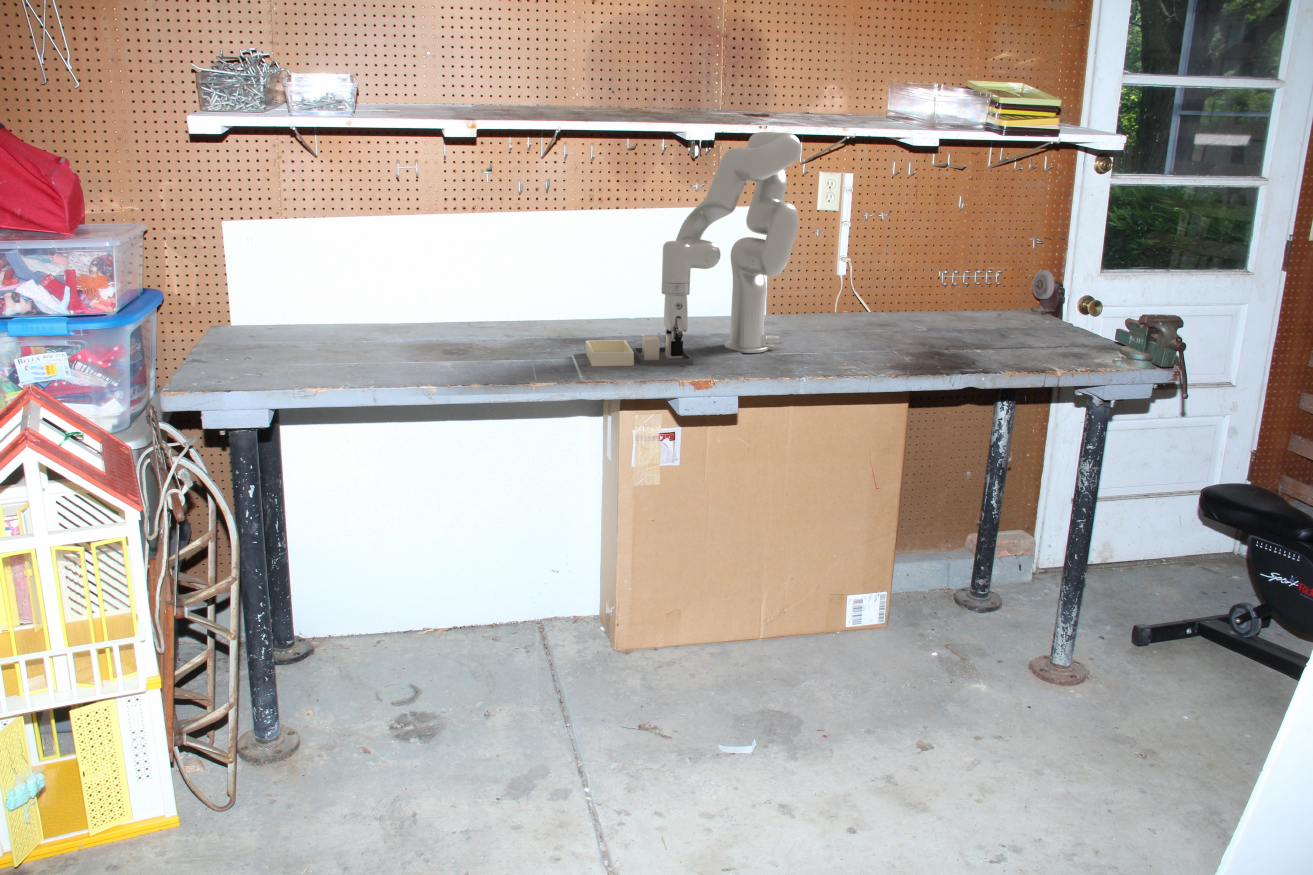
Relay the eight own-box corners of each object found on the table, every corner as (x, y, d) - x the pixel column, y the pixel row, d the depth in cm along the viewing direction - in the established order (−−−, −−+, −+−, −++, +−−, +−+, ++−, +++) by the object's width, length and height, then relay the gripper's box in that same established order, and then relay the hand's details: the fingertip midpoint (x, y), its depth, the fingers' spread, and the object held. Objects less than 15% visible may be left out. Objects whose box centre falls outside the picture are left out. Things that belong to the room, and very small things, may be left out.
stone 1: (656, 357, 266) (656, 336, 264) (658, 361, 263) (659, 339, 261) (641, 358, 266) (642, 336, 264) (644, 361, 262) (644, 339, 260)
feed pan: (681, 353, 274) (681, 346, 274) (692, 366, 260) (693, 359, 260) (632, 354, 272) (632, 347, 271) (641, 367, 258) (641, 360, 257)
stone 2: (679, 354, 270) (680, 333, 268) (682, 358, 267) (682, 336, 265) (665, 355, 270) (665, 333, 268) (667, 358, 266) (668, 336, 264)
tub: (625, 354, 272) (625, 340, 270) (633, 367, 258) (633, 352, 256) (585, 354, 270) (585, 340, 269) (591, 368, 256) (592, 353, 255)
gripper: (696, 293, 255) (693, 359, 260) (682, 283, 271) (680, 345, 276) (668, 293, 253) (665, 360, 259) (656, 283, 270) (654, 345, 275)
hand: (673, 351), depth 268 cm, fingers open, 7 cm apart
